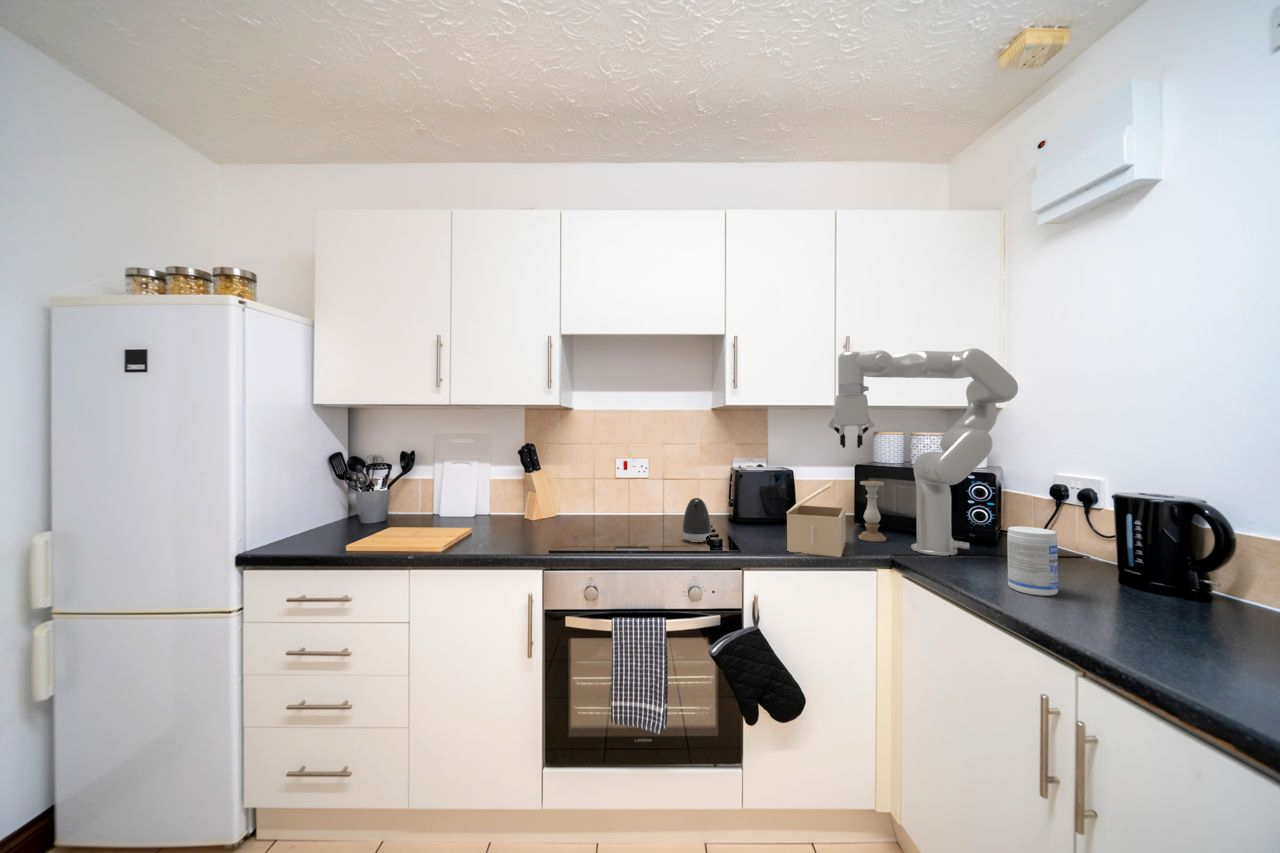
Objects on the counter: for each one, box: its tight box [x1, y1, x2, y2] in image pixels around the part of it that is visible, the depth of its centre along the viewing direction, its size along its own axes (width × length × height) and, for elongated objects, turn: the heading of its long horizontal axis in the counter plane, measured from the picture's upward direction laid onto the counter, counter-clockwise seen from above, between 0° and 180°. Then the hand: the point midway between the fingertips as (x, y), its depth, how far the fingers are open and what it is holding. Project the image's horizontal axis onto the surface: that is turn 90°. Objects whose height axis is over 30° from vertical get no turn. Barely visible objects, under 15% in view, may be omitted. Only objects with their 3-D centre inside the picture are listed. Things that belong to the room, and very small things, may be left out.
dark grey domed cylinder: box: [681, 497, 712, 542], centre depth 172 cm, size 10×10×15 cm
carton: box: [786, 504, 847, 558], centre depth 161 cm, size 16×24×12 cm, turn 154°
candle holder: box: [858, 480, 887, 543], centre depth 174 cm, size 9×9×20 cm
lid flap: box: [785, 479, 837, 515], centre depth 164 cm, size 16×20×1 cm
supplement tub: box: [1006, 526, 1059, 597], centre depth 119 cm, size 10×10×15 cm
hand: (851, 447), depth 159 cm, fingers open, 3 cm apart
